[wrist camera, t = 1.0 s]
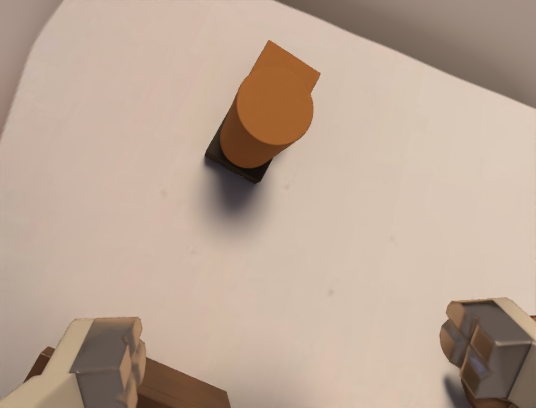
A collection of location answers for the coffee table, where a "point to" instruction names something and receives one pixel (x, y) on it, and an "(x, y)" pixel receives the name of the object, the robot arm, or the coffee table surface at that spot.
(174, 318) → the coffee table surface
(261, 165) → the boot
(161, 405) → the wooden keepsake box
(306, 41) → the coffee table surface
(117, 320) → the robot arm
